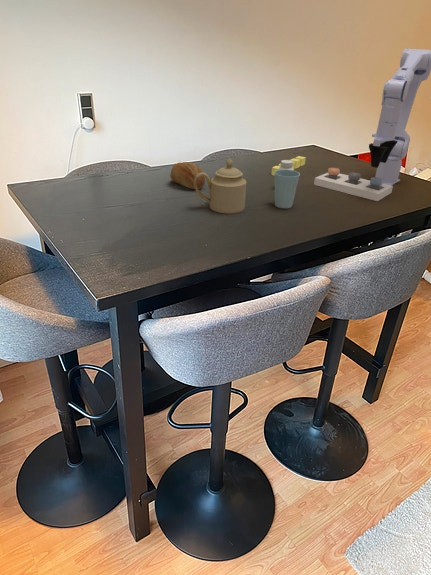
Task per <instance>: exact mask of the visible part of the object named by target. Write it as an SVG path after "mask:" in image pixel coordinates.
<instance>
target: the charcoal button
mask: <svg viewBox="0 0 431 575" xmlns="http://www.w3.org/2000/svg"><path fill="white" fill-rule="evenodd" d="M348 175H349V176H348V179H349V183H351V184H355V185H357V183H358V180H360V178H361V175H362V174H361V173H359V172H356V171H354V172H353V171H352V172H351V171H350V172H349V173H348Z"/></svg>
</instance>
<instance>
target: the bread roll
mask: <svg viewBox="0 0 431 575" xmlns="http://www.w3.org/2000/svg"><path fill="white" fill-rule="evenodd" d="M201 172H203V170H202V168H200V167H199V166H198V164H195V163H194V162H191V161H190V162H188V161H183V162H181V161H178V162H177V163H174V164H173V166H172V167H171V171H170V175H169V176H170V179H171V180H172V181H173V183H175V184H177V185H181V186H183V187H185V188H188V189H192V190H196V189H195V186H194V179H195V177H196V175H197V174H199V173H201ZM205 183H206V177H205V176H201V177H199V178H198V181H197V186H198V189H199V190H200V189H202V188H203V187H204V186H205Z"/></svg>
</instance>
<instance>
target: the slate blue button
mask: <svg viewBox="0 0 431 575" xmlns="http://www.w3.org/2000/svg"><path fill="white" fill-rule="evenodd" d="M382 182H383V179H381V178H377V177H374V176H373V177H371V178H370V184H371V186H370V188H371V189H375V190H379V188H380V185H382Z"/></svg>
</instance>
